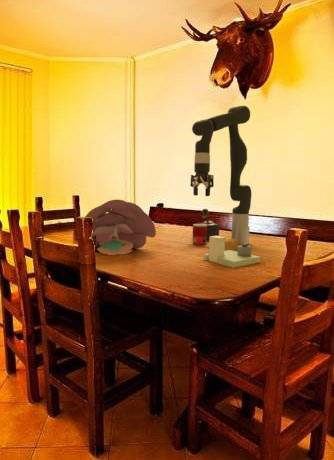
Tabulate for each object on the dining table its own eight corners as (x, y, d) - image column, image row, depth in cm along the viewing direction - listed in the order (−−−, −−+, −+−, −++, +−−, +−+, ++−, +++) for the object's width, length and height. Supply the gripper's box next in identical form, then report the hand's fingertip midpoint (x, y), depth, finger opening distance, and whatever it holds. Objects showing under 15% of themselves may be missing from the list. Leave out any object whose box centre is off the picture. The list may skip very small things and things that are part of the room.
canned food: (205, 245, 197) (206, 225, 196) (191, 244, 199) (191, 225, 197) (207, 243, 205) (207, 224, 203) (193, 242, 206) (193, 223, 205)
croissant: (210, 259, 178) (213, 247, 173) (204, 247, 186) (207, 234, 181) (249, 257, 183) (253, 244, 178) (242, 244, 190) (245, 232, 186)
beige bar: (216, 259, 163) (216, 235, 162) (225, 261, 158) (226, 237, 157) (208, 260, 161) (209, 236, 159) (218, 263, 156) (219, 238, 154)
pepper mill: (220, 239, 217) (221, 210, 214) (205, 241, 211) (206, 210, 209) (205, 236, 230) (206, 208, 228) (191, 237, 225) (191, 208, 222)
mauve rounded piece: (91, 268, 165) (87, 210, 155) (75, 249, 184) (71, 196, 174) (157, 253, 182) (157, 200, 172) (136, 237, 201) (136, 189, 191)
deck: (229, 255, 172) (230, 239, 171) (259, 262, 158) (260, 245, 157) (203, 259, 162) (204, 243, 161) (233, 267, 148) (234, 249, 147)
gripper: (218, 162, 171) (217, 196, 173) (198, 163, 182) (197, 195, 185) (206, 161, 167) (205, 196, 169) (186, 162, 178) (186, 195, 180)
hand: (201, 195), depth 177 cm, fingers open, 8 cm apart
